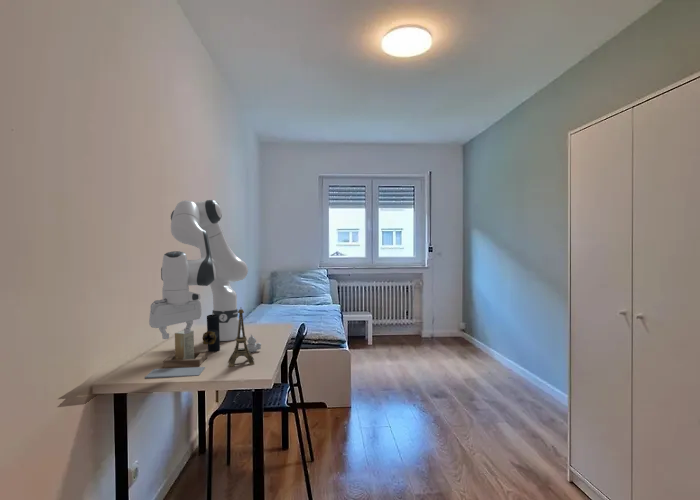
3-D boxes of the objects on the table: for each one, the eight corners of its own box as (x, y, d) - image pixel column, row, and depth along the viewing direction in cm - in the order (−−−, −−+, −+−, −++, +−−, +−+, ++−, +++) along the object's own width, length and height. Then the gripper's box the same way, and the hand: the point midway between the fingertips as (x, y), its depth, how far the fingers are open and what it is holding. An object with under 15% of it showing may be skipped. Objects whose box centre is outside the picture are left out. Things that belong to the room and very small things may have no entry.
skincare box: (185, 360, 177) (185, 329, 177) (194, 361, 176) (194, 330, 176) (174, 364, 171) (174, 332, 171) (184, 365, 170) (183, 333, 170)
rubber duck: (245, 351, 191) (245, 332, 191) (261, 350, 193) (261, 332, 192) (244, 354, 186) (244, 335, 186) (261, 353, 187) (261, 334, 187)
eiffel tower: (227, 368, 165) (226, 301, 165) (227, 361, 175) (226, 297, 175) (256, 366, 168) (255, 299, 168) (254, 359, 178) (254, 296, 178)
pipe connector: (215, 356, 185) (214, 321, 183) (202, 357, 184) (200, 321, 183) (221, 347, 196) (220, 314, 194) (209, 348, 196) (207, 314, 194)
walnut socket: (173, 359, 179) (172, 352, 179) (206, 357, 181) (206, 351, 181) (163, 368, 166) (163, 361, 166) (199, 366, 168) (199, 360, 168)
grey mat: (154, 370, 164) (154, 368, 164) (205, 368, 166) (205, 366, 166) (144, 378, 154) (144, 377, 154) (199, 376, 156) (199, 374, 156)
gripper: (157, 301, 149) (158, 343, 149) (203, 294, 167) (204, 331, 167) (144, 300, 152) (145, 341, 152) (191, 293, 170) (192, 329, 170)
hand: (176, 336), depth 160 cm, fingers open, 8 cm apart
